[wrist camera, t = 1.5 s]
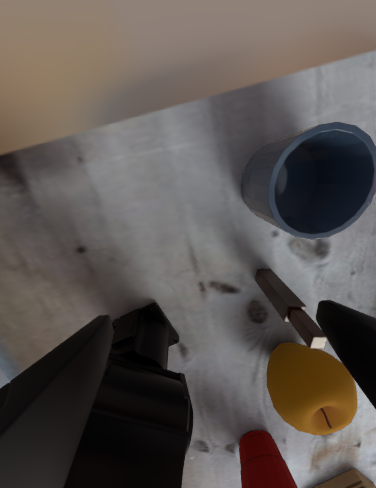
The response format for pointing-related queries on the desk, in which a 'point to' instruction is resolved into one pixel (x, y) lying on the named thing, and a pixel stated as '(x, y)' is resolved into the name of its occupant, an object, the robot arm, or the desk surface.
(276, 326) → the desk surface
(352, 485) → the banker's lamp
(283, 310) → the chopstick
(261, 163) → the cup
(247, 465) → the plastic cup
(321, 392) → the apple
